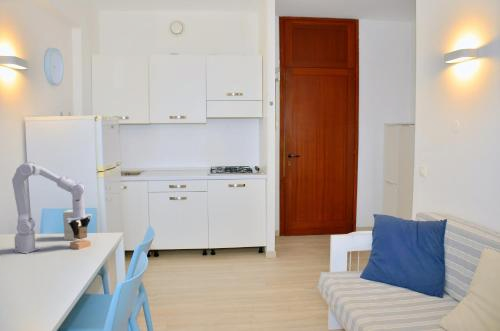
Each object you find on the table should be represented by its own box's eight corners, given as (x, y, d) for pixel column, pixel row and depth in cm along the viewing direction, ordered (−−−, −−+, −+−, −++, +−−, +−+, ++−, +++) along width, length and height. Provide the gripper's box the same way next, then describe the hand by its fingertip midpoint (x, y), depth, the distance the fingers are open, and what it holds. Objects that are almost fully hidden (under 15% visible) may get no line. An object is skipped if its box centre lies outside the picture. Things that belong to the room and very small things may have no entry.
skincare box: (75, 240, 228) (74, 212, 226) (63, 240, 228) (61, 212, 227) (81, 236, 236) (80, 208, 235) (70, 236, 236) (68, 209, 235)
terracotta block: (70, 248, 215) (70, 242, 215) (82, 244, 221) (81, 239, 221) (78, 250, 212) (78, 244, 211) (90, 246, 217) (90, 241, 217)
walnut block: (73, 238, 215) (73, 227, 214) (80, 236, 219) (80, 225, 218) (79, 239, 213) (79, 228, 212) (87, 237, 217) (86, 226, 216)
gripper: (72, 211, 206) (73, 238, 207) (95, 205, 219) (96, 231, 220) (62, 209, 209) (63, 236, 211) (86, 204, 222) (87, 229, 223)
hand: (79, 233), depth 216 cm, fingers closed on walnut block, 4 cm apart
